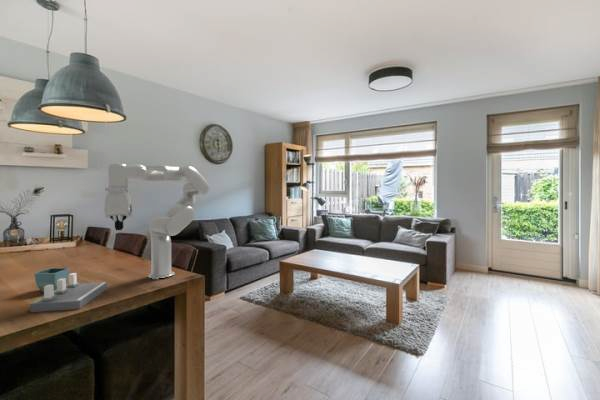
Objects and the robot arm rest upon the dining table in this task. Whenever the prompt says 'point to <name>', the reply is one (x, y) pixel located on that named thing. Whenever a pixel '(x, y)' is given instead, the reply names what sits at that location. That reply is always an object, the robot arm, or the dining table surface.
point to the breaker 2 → (72, 280)
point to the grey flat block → (70, 298)
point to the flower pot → (50, 277)
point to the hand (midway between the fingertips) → (119, 229)
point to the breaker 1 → (48, 293)
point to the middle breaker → (61, 286)
